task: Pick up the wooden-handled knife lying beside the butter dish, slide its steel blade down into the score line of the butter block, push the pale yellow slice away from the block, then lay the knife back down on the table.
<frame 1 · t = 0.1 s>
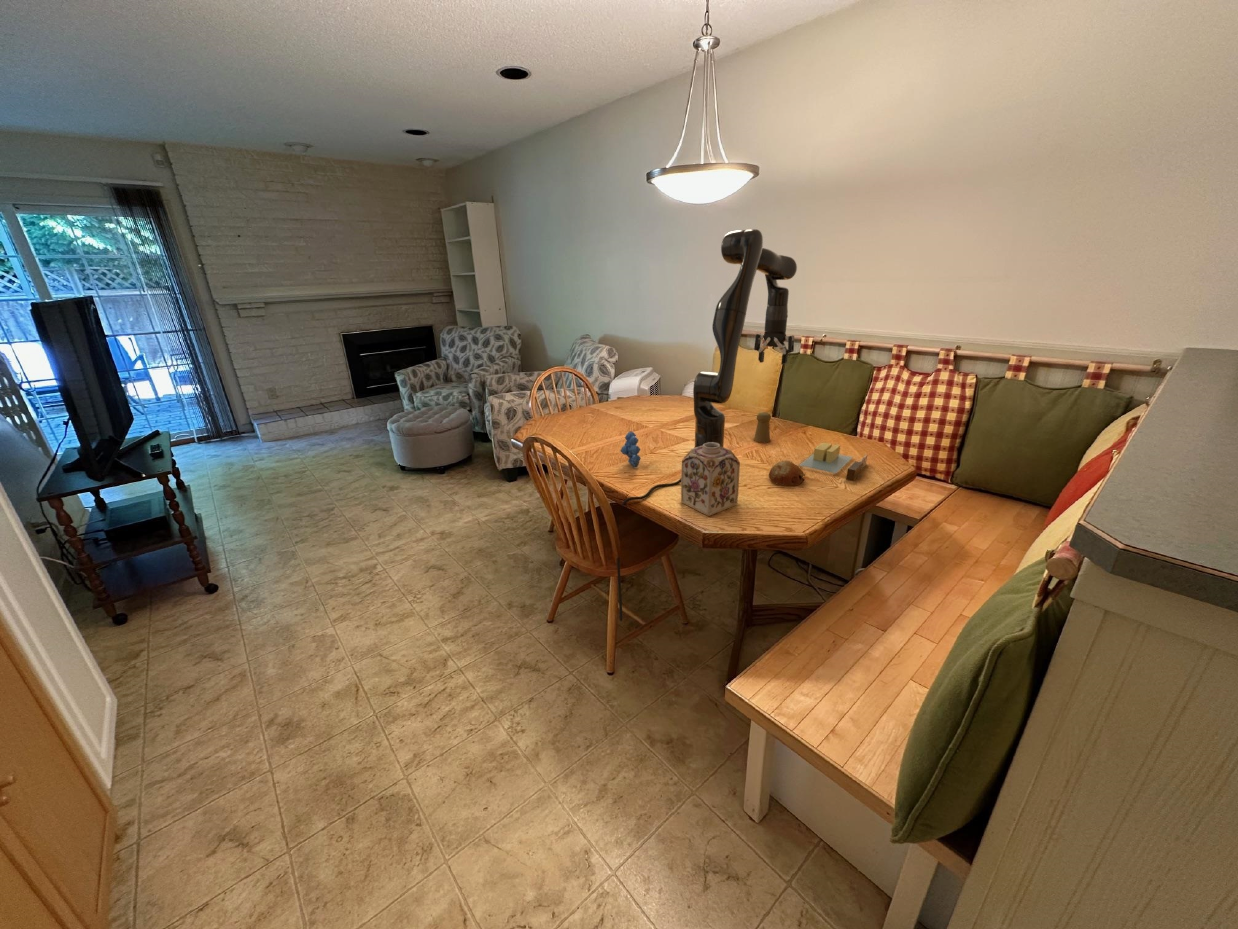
hand: (772, 363, 179), 29 cm above the table, tool pointing down, fingers open, 8 cm apart
butter slice: (832, 459, 163), point 1 cm above the table, touching butter dish
grapes: (630, 466, 166), on the table
cork: (761, 440, 187), on the table
butter dish: (825, 463, 162), on the table
butter: (821, 457, 165), point 1 cm above the table, touching butter dish
bread roll: (786, 480, 150), on the table
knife: (853, 478, 149), on the table
decorative jar: (708, 504, 136), on the table
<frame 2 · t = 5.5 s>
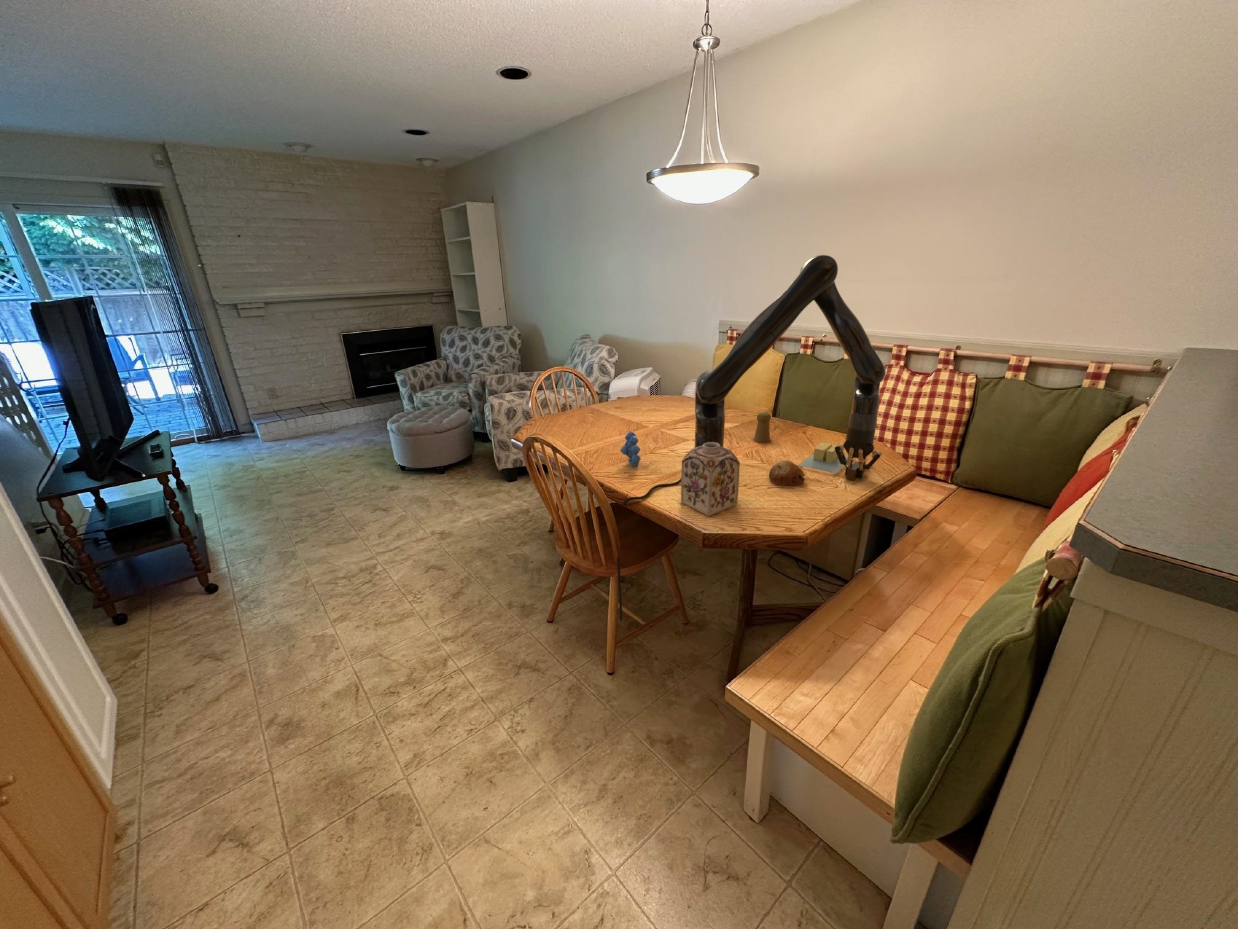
hand: (853, 478, 149), 0 cm above the table, tool pointing down, fingers closed on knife, 2 cm apart
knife: (853, 478, 149), on the table, touching gripper
everything else where it was.
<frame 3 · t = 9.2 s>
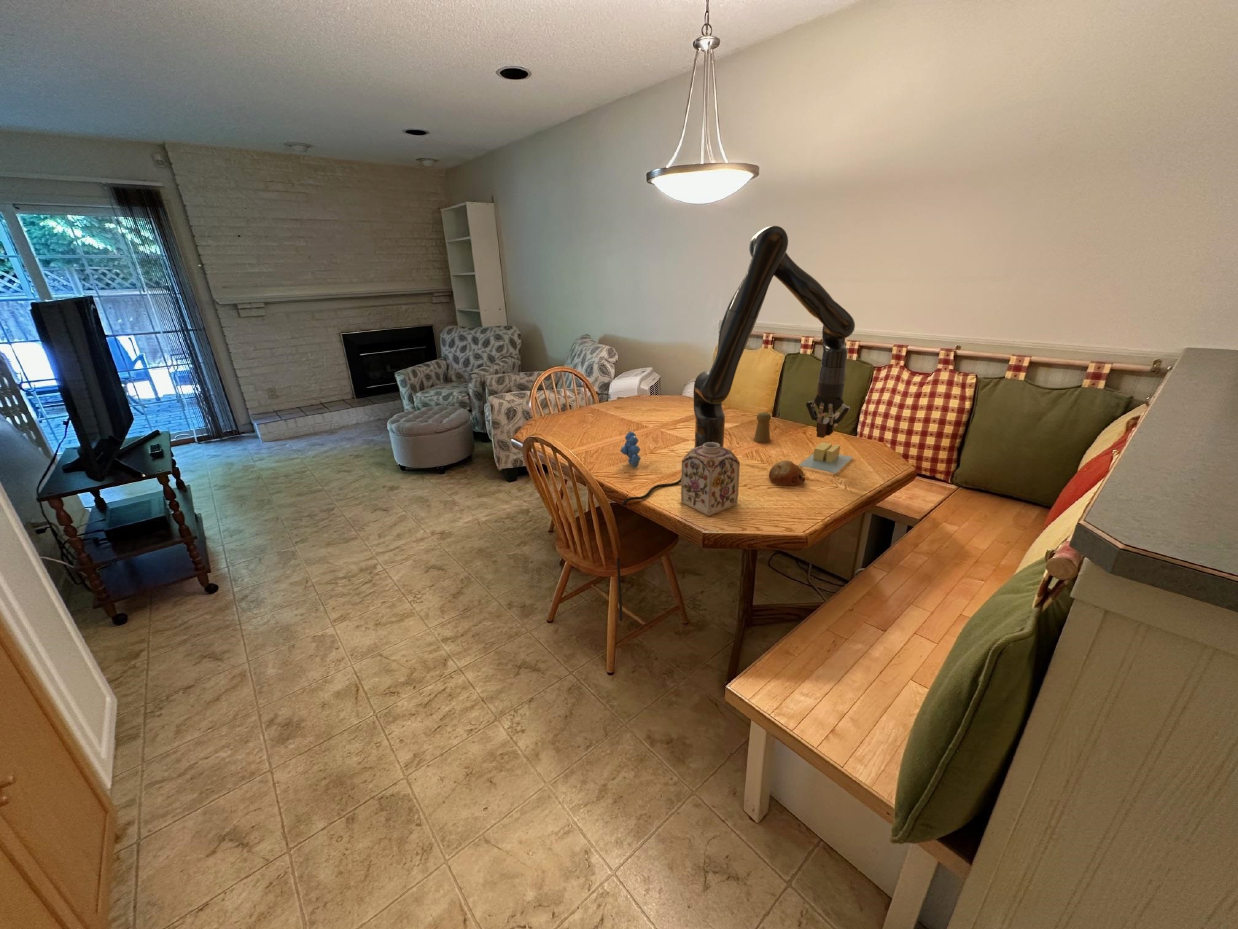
hand: (824, 433, 153), 12 cm above the table, tool pointing down, fingers closed on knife
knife: (824, 434, 153), point 12 cm above the table, touching gripper
everything else where it was.
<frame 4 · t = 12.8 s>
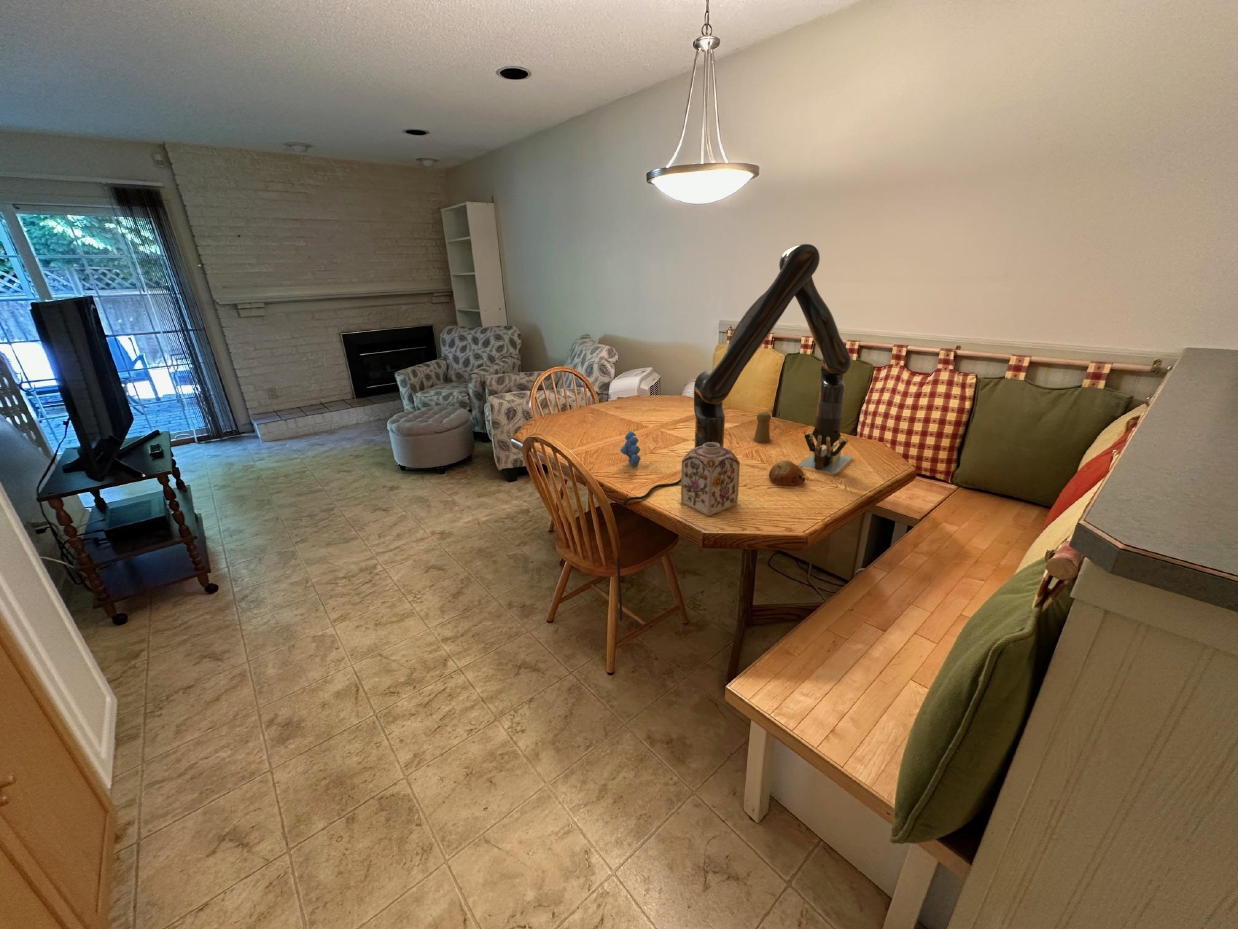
hand: (822, 465, 157), 1 cm above the table, tool pointing down, fingers closed on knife, 2 cm apart
butter slice: (833, 459, 163), point 1 cm above the table, touching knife
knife: (822, 465, 157), point 1 cm above the table, touching butter slice, gripper
everything else where it was.
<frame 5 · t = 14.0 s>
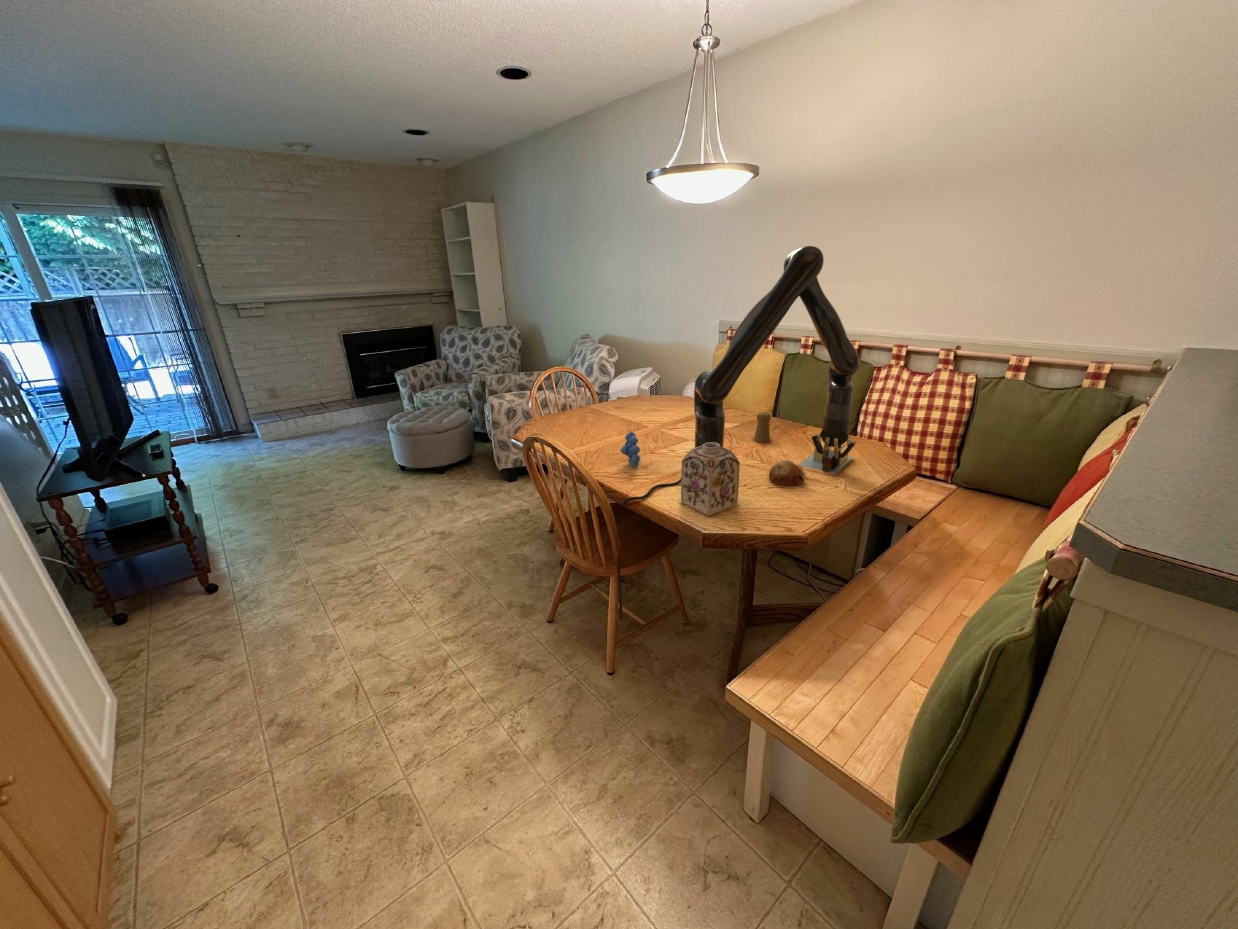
hand: (829, 466, 156), 1 cm above the table, tool pointing down, fingers closed on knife, 2 cm apart
butter slice: (841, 460, 161), point 1 cm above the table, touching butter dish, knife
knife: (829, 467, 156), point 1 cm above the table, touching butter slice, gripper
everything else where it was.
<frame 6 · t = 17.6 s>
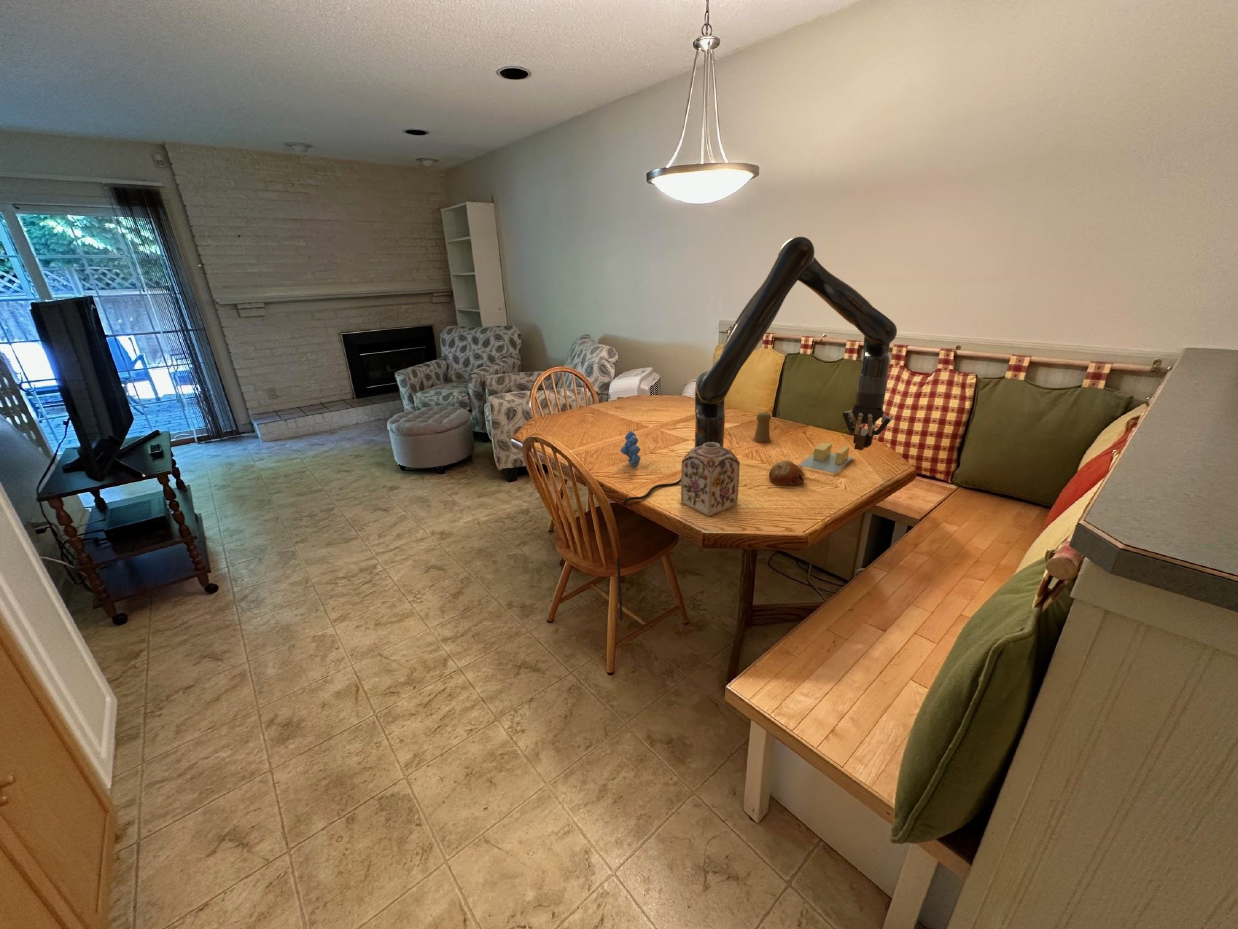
hand: (862, 445, 145), 11 cm above the table, tool pointing down, fingers closed on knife
butter slice: (841, 460, 161), point 1 cm above the table, touching butter dish
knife: (862, 446, 145), point 11 cm above the table, touching gripper
everything else where it was.
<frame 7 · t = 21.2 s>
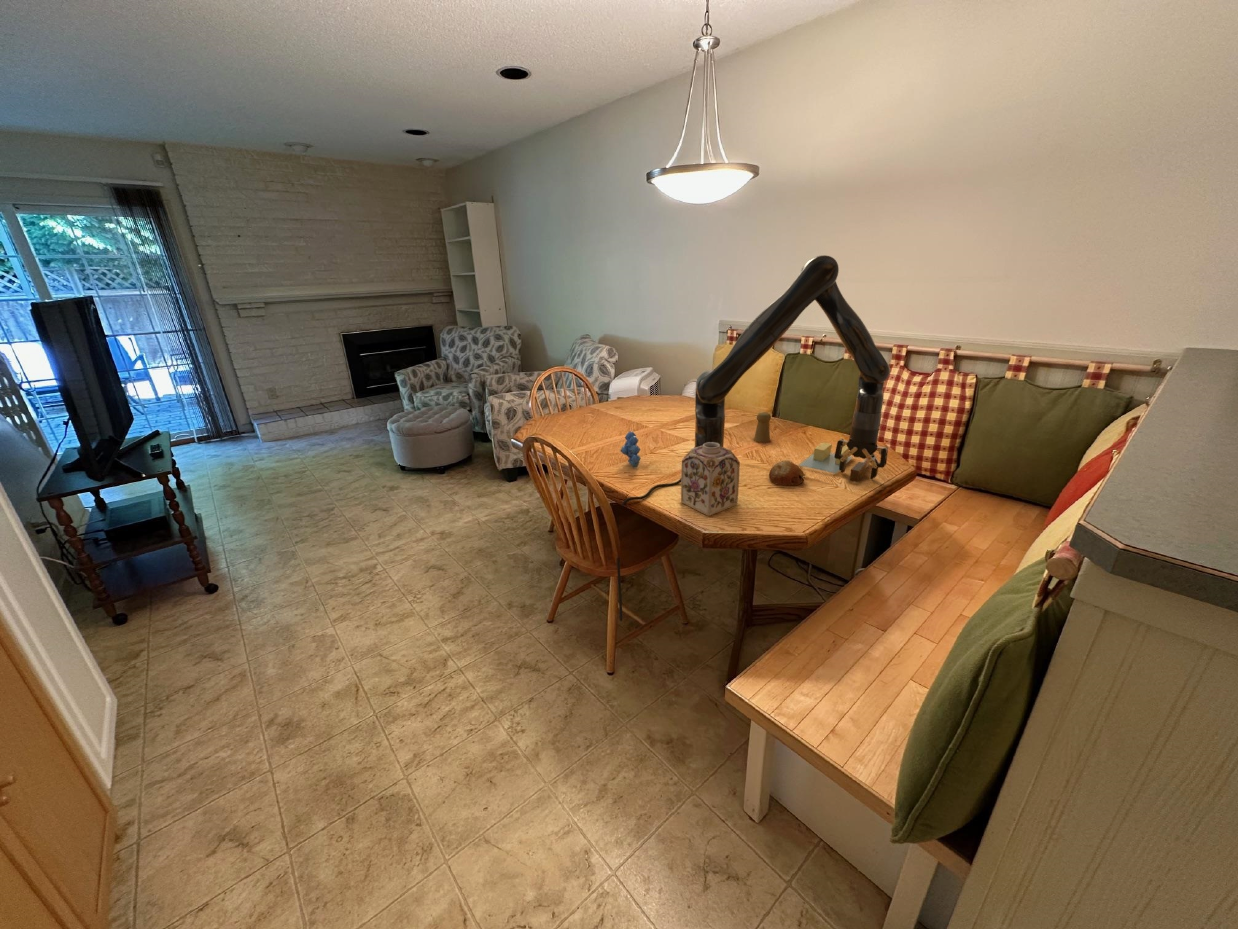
hand: (857, 475, 148), 2 cm above the table, tool pointing down, fingers open, 8 cm apart
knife: (856, 479, 149), on the table
everything else where it was.
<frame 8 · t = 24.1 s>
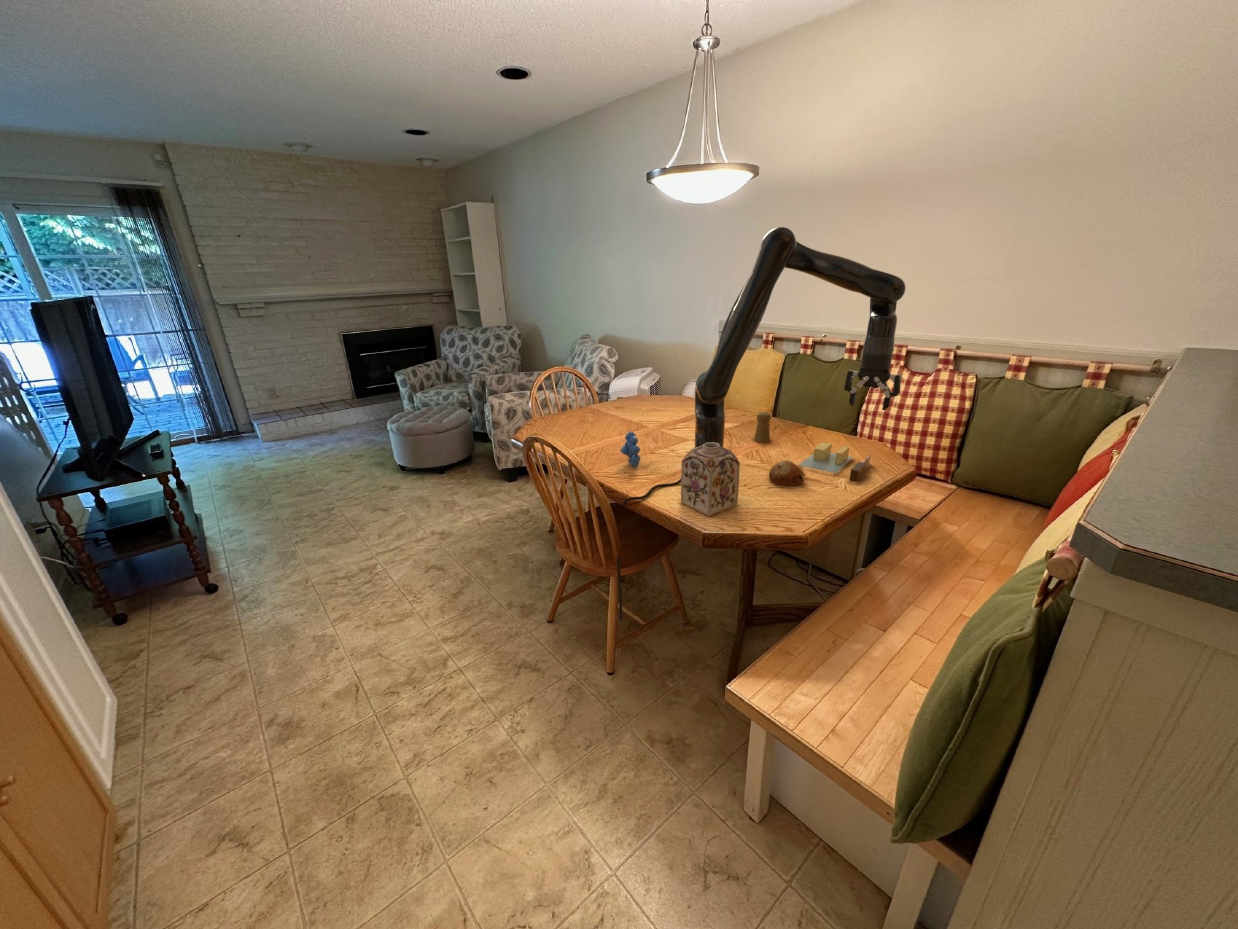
hand: (868, 407, 140), 23 cm above the table, tool pointing down, fingers open, 8 cm apart
nothing on the table moved.
at the end: butter slice 1.0 cm from the target spot on the table beside the butter, resting on butter dish; butter moved 0.0 cm from its start; the gripper is holding nothing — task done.
